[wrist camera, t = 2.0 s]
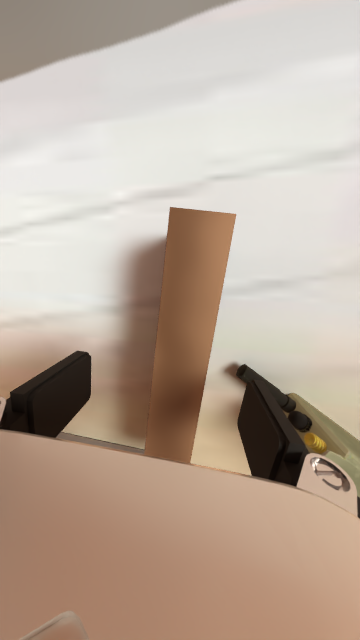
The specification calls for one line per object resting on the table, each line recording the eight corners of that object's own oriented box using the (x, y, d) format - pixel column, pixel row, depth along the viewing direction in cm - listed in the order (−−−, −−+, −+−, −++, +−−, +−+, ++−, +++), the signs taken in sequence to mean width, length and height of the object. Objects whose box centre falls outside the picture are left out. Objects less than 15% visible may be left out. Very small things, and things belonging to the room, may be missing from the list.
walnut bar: (222, 238, 14) (236, 213, 9) (188, 434, 19) (184, 494, 14) (180, 233, 15) (170, 207, 9) (157, 428, 19) (141, 484, 14)
